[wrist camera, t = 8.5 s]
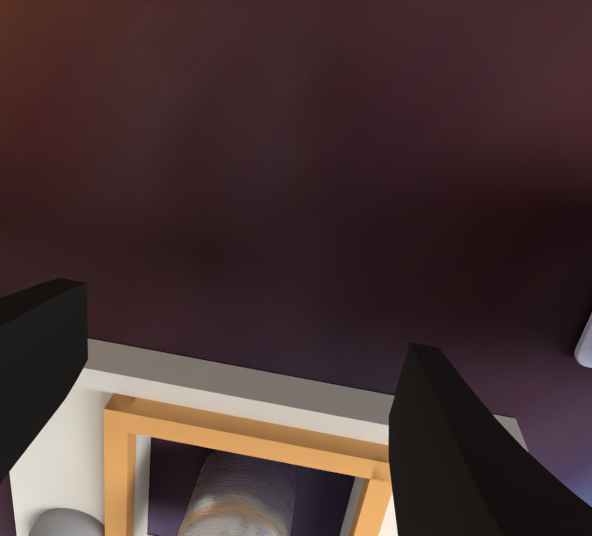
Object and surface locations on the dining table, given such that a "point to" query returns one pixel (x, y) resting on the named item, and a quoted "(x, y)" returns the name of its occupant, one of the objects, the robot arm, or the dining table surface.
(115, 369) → the white flat frame
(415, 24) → the dining table surface
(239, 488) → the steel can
